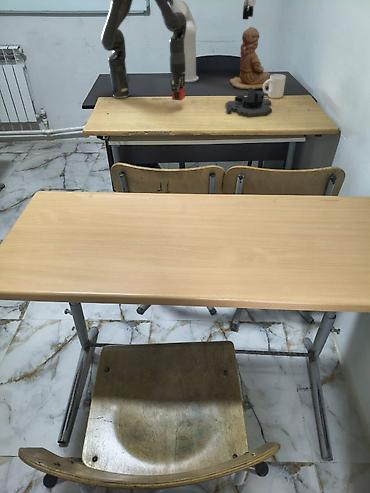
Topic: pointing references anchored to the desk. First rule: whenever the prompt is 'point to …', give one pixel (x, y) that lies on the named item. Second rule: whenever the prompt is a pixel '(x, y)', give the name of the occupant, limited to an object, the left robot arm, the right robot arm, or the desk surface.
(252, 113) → the abstract sculpture
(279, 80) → the mug
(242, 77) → the sculpture
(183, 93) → the brick
